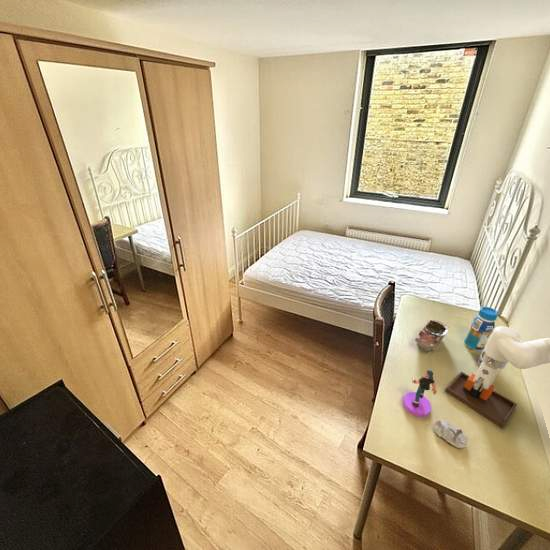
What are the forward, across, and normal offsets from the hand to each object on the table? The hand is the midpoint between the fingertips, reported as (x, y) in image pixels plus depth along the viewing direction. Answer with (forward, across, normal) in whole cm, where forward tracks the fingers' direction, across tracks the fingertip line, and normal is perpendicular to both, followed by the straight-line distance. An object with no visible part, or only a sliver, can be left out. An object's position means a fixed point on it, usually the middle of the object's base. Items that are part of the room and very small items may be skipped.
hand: (476, 392), depth 113 cm
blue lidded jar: (+1, +29, +12) cm, 32 cm away
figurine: (+1, -24, +12) cm, 26 cm away
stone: (+1, -26, -1) cm, 26 cm away
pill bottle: (+1, +20, +4) cm, 20 cm away
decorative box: (+1, +12, +24) cm, 27 cm away
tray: (+1, -2, -2) cm, 3 cm away
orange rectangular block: (0, 0, 0) cm, 0 cm away
